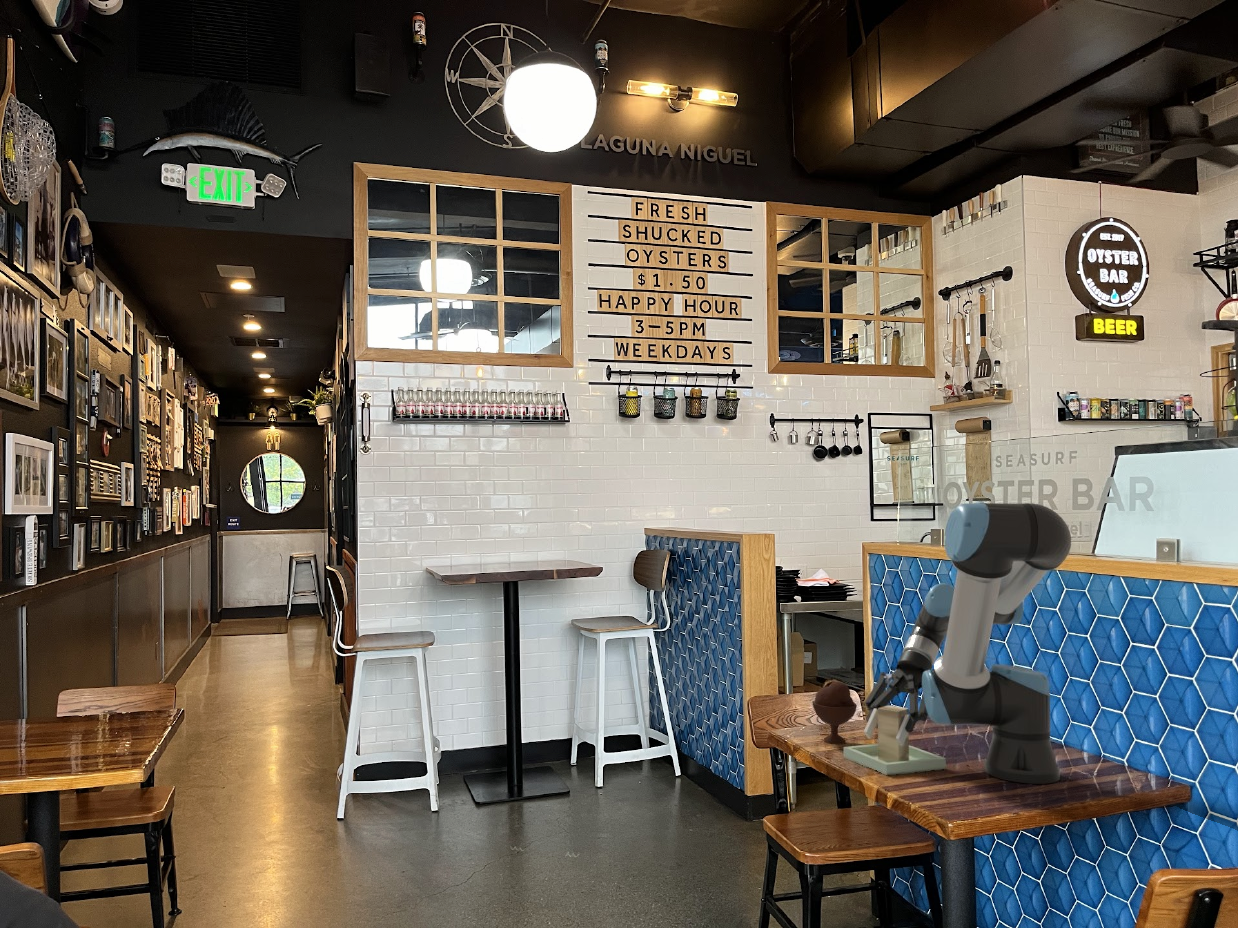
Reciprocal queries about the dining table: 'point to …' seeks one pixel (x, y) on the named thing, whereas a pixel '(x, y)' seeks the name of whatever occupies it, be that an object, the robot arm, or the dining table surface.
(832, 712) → the ice cream bowl
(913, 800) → the dining table surface
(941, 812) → the dining table surface
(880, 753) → the block
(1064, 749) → the dining table surface
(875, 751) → the tray
